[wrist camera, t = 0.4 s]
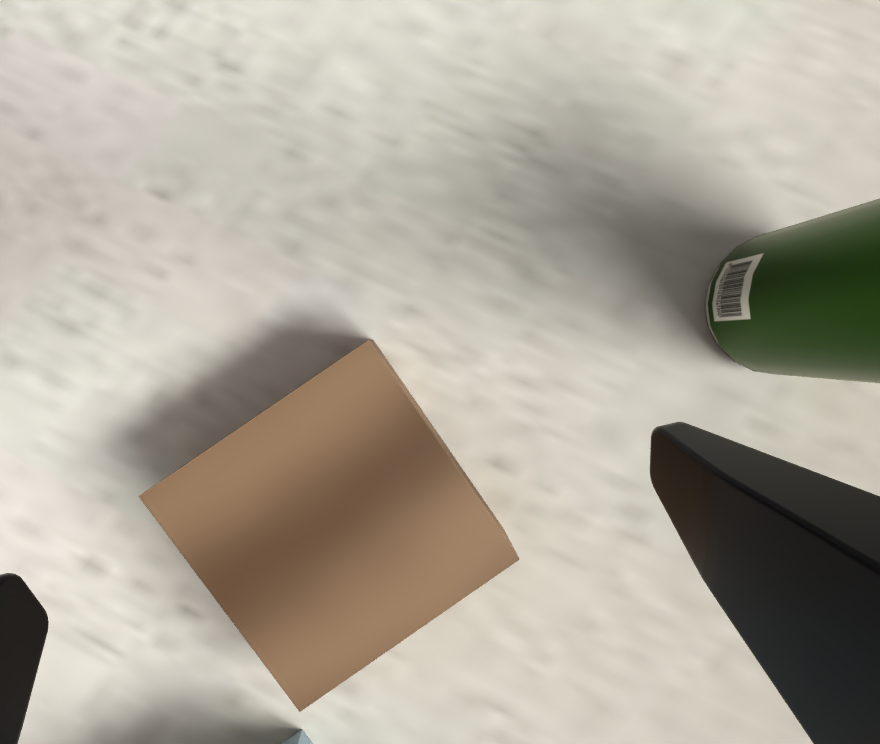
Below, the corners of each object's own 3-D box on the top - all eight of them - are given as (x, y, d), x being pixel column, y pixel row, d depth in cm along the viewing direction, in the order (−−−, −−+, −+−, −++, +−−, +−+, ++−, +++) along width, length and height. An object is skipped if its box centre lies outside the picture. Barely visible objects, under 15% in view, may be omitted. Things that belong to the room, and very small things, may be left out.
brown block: (504, 529, 22) (519, 559, 19) (314, 661, 22) (299, 711, 19) (373, 340, 21) (368, 339, 18) (177, 474, 21) (138, 496, 18)
